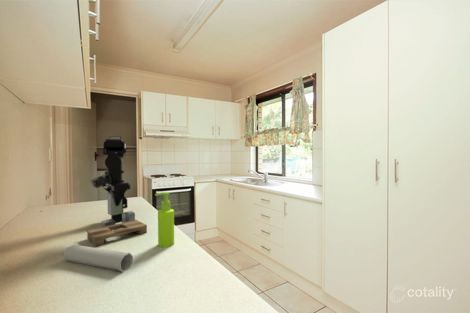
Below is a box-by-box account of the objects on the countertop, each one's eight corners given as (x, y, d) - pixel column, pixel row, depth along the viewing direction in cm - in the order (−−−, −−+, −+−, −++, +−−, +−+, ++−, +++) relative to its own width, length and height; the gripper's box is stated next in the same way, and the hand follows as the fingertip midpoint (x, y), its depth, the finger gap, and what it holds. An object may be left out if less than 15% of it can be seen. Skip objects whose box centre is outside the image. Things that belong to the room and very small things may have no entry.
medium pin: (122, 225, 112) (122, 212, 112) (131, 222, 115) (131, 211, 115) (125, 227, 109) (125, 214, 109) (135, 224, 112) (134, 212, 112)
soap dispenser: (154, 243, 89) (154, 192, 89) (173, 240, 92) (172, 190, 91) (156, 249, 84) (155, 194, 83) (175, 245, 86) (174, 193, 86)
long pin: (107, 213, 97) (107, 192, 97) (118, 211, 100) (118, 191, 100) (111, 215, 94) (110, 193, 94) (122, 213, 97) (122, 192, 97)
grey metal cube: (101, 229, 105) (101, 221, 105) (112, 227, 109) (111, 219, 109) (104, 232, 102) (104, 223, 102) (115, 229, 106) (115, 220, 105)
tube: (56, 251, 74) (117, 262, 66) (72, 240, 78) (130, 249, 70) (62, 264, 75) (122, 276, 67) (77, 252, 80) (135, 262, 72)
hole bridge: (87, 239, 94) (87, 230, 94) (136, 227, 108) (136, 219, 108) (95, 246, 86) (95, 237, 86) (146, 232, 101) (146, 224, 101)
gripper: (86, 168, 97) (87, 204, 98) (99, 170, 84) (100, 212, 85) (114, 167, 105) (115, 200, 106) (130, 168, 92) (131, 207, 93)
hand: (115, 205), depth 97 cm, fingers closed on long pin, 4 cm apart
